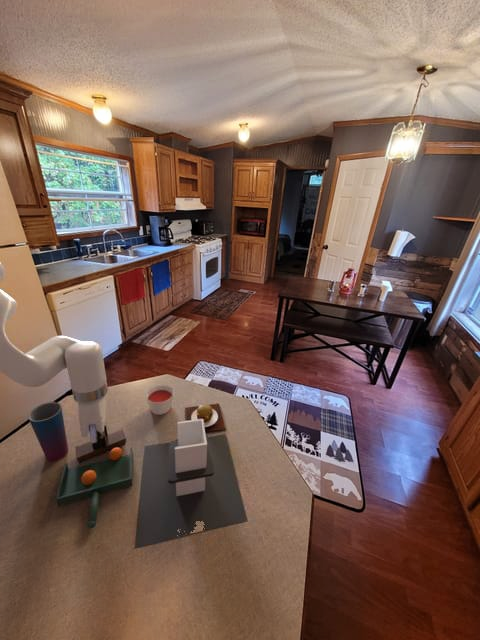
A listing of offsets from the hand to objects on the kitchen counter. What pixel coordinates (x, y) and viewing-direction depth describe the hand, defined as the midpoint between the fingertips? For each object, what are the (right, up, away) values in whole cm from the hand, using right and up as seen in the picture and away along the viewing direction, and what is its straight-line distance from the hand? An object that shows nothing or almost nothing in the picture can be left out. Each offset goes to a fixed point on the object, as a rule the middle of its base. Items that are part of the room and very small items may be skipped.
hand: (100, 442), depth 70 cm
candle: (+11, +3, +18) cm, 22 cm away
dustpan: (+4, -8, -9) cm, 13 cm away
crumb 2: (+5, -3, -1) cm, 6 cm away
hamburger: (+27, 0, +15) cm, 31 cm away
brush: (0, -2, +1) cm, 3 cm away
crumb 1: (+1, -5, -8) cm, 9 cm away
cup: (-12, -3, 0) cm, 12 cm away
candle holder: (+26, -8, -4) cm, 27 cm away
